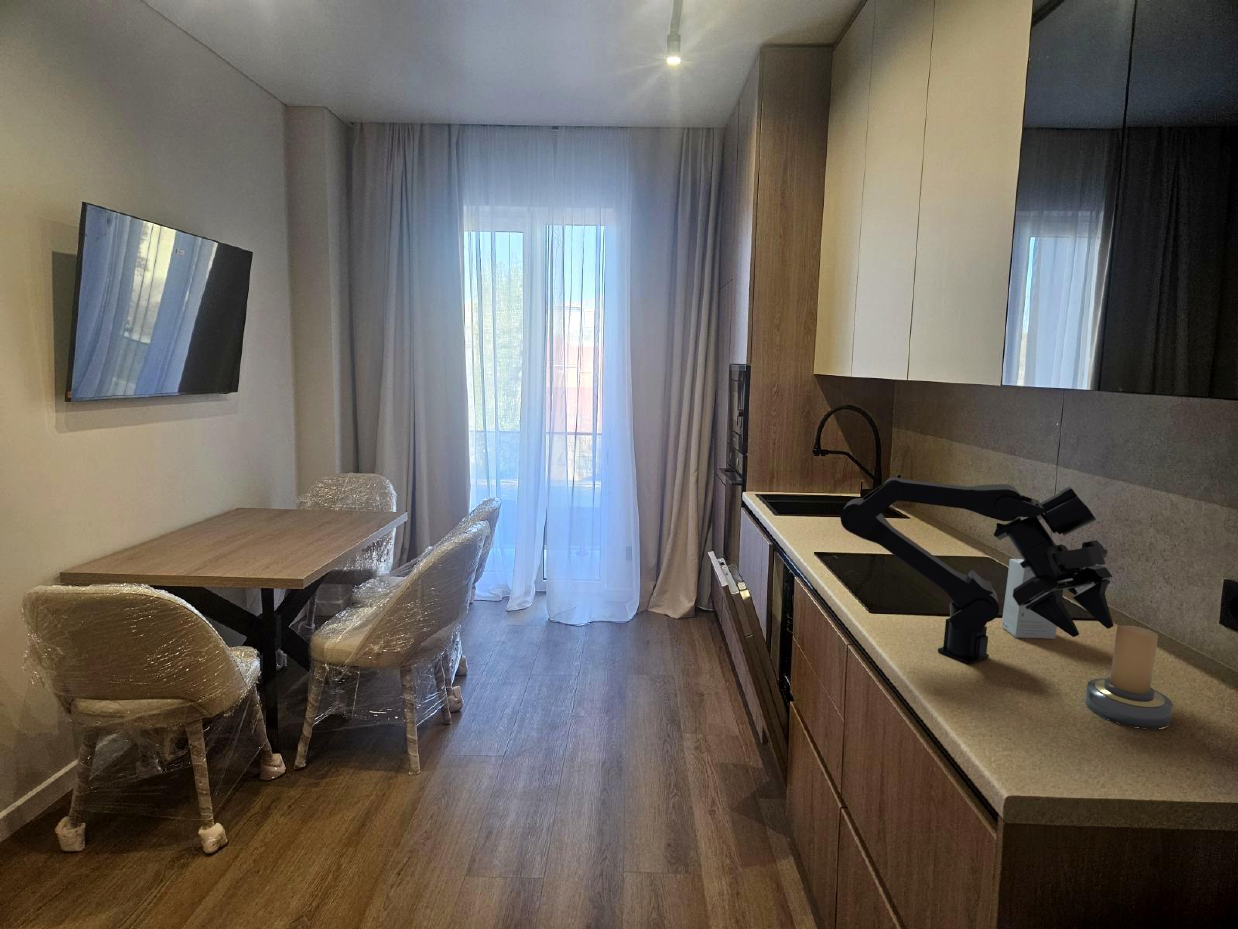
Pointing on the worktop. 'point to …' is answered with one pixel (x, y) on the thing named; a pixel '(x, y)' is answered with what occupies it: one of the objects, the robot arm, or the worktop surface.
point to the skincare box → (1023, 608)
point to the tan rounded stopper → (1133, 664)
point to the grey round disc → (1128, 707)
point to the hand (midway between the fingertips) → (1093, 631)
